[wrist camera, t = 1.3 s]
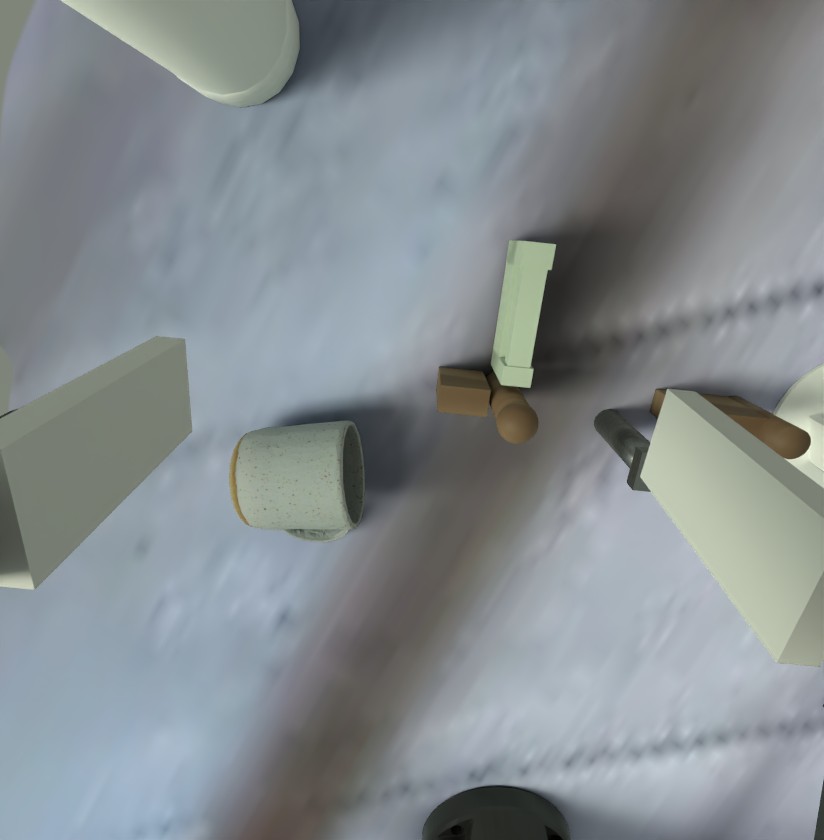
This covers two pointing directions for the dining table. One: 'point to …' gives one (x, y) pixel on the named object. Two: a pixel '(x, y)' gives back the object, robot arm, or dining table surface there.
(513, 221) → the dining table surface
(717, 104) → the dining table surface
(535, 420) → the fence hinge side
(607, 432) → the post
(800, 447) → the fence far side
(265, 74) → the bottle
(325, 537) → the ceramic mug
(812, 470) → the cream upright rounded piece
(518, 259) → the gate
